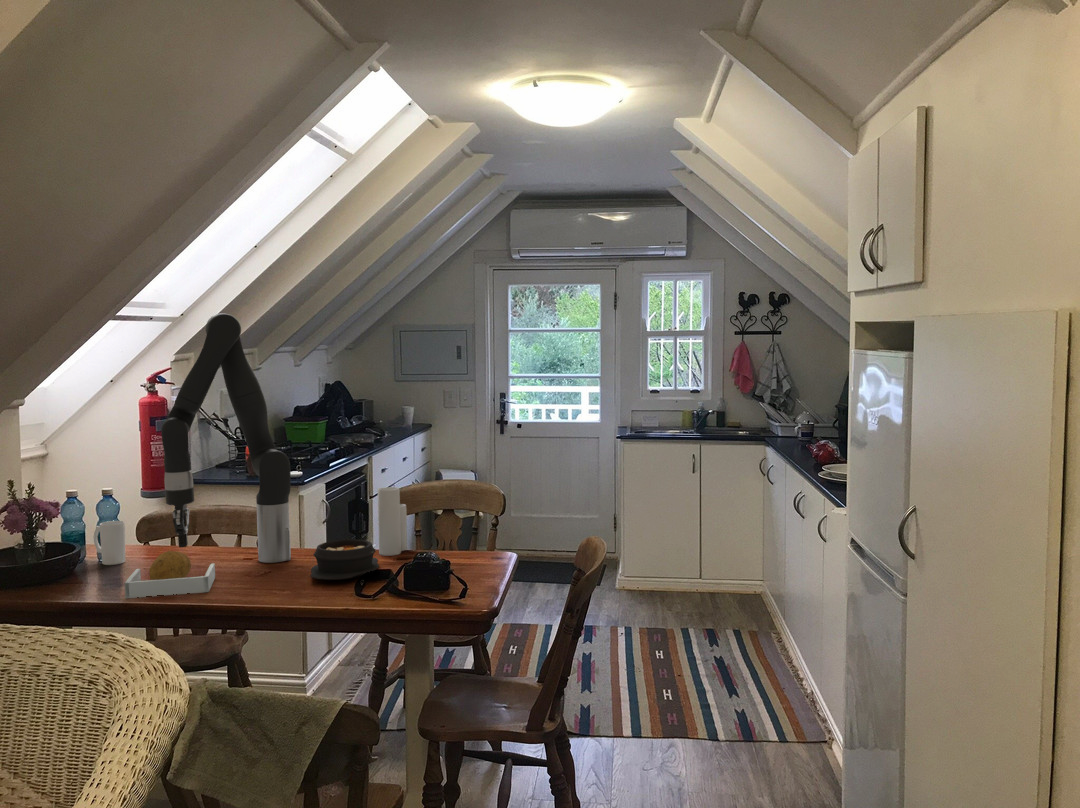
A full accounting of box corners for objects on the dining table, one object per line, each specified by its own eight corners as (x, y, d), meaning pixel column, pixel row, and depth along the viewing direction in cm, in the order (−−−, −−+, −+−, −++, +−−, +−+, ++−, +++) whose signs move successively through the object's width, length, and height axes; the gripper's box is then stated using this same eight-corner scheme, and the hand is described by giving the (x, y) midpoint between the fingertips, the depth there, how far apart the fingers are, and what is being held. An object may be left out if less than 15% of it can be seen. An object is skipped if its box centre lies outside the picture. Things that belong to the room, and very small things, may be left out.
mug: (131, 560, 261) (129, 521, 261) (115, 565, 255) (113, 525, 254) (103, 558, 264) (101, 520, 263) (86, 564, 257) (84, 524, 257)
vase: (396, 556, 262) (395, 490, 261) (374, 555, 264) (372, 490, 262) (409, 547, 273) (408, 484, 272) (387, 547, 275) (386, 484, 273)
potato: (135, 556, 226) (167, 554, 224) (167, 548, 239) (197, 545, 237) (139, 593, 226) (170, 591, 224) (170, 582, 239) (200, 580, 237)
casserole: (359, 587, 228) (358, 556, 227) (293, 585, 231) (292, 554, 230) (392, 564, 252) (392, 536, 252) (332, 562, 255) (331, 534, 255)
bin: (215, 577, 240) (214, 563, 239) (208, 592, 225) (208, 576, 225) (136, 583, 235) (136, 568, 234) (125, 598, 220) (124, 583, 220)
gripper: (189, 489, 241) (193, 550, 242) (196, 482, 254) (200, 540, 255) (160, 491, 239) (165, 553, 241) (169, 484, 252) (173, 542, 254)
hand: (183, 546), depth 248 cm, fingers closed
